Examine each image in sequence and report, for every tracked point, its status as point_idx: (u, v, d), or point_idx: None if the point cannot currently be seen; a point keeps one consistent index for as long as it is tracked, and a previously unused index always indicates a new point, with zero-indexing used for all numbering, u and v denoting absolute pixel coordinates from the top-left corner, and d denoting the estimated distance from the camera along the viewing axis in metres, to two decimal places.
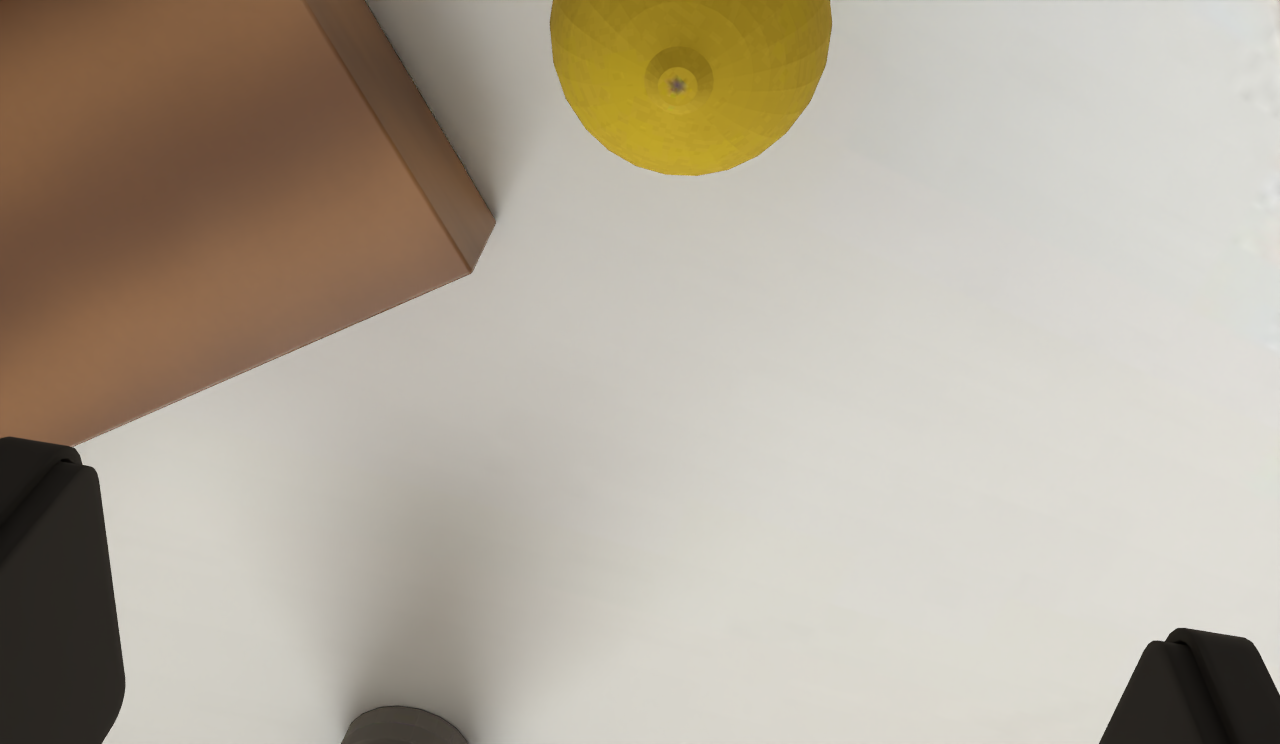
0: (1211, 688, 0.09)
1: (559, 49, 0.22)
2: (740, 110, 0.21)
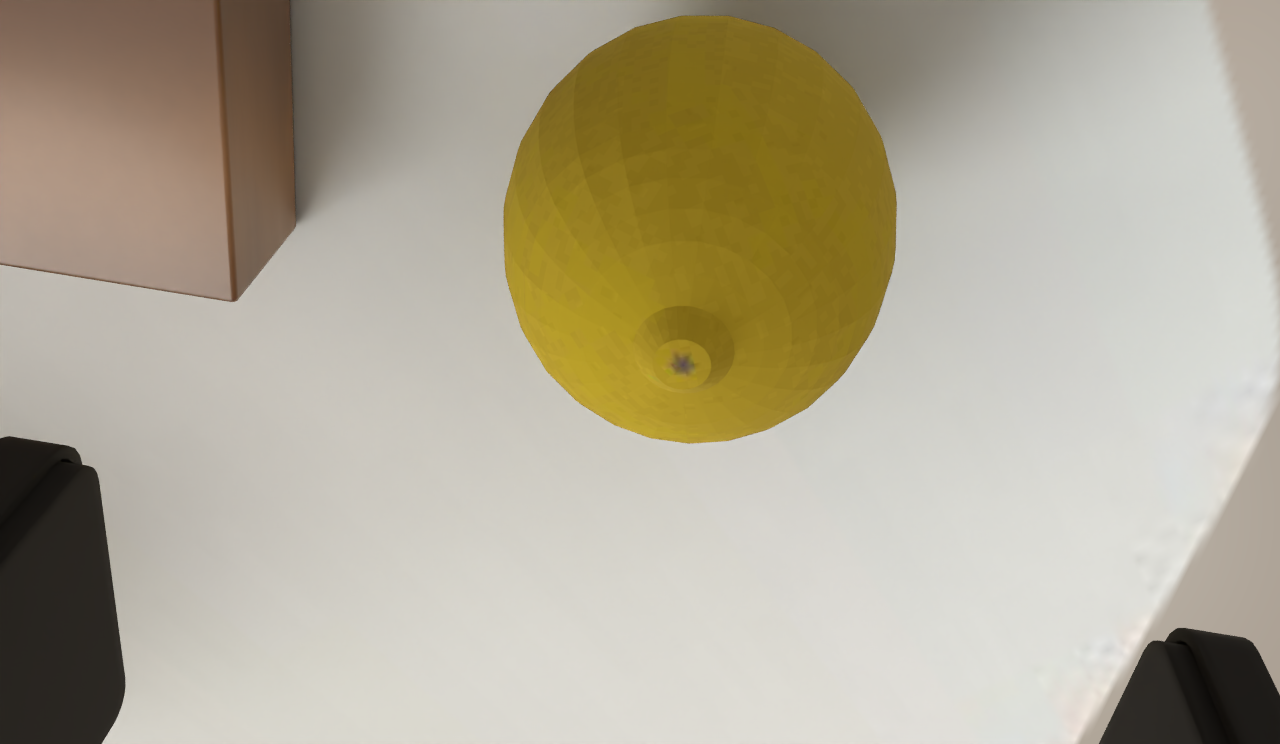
0: (1211, 688, 0.09)
1: (542, 189, 0.15)
2: (728, 415, 0.15)
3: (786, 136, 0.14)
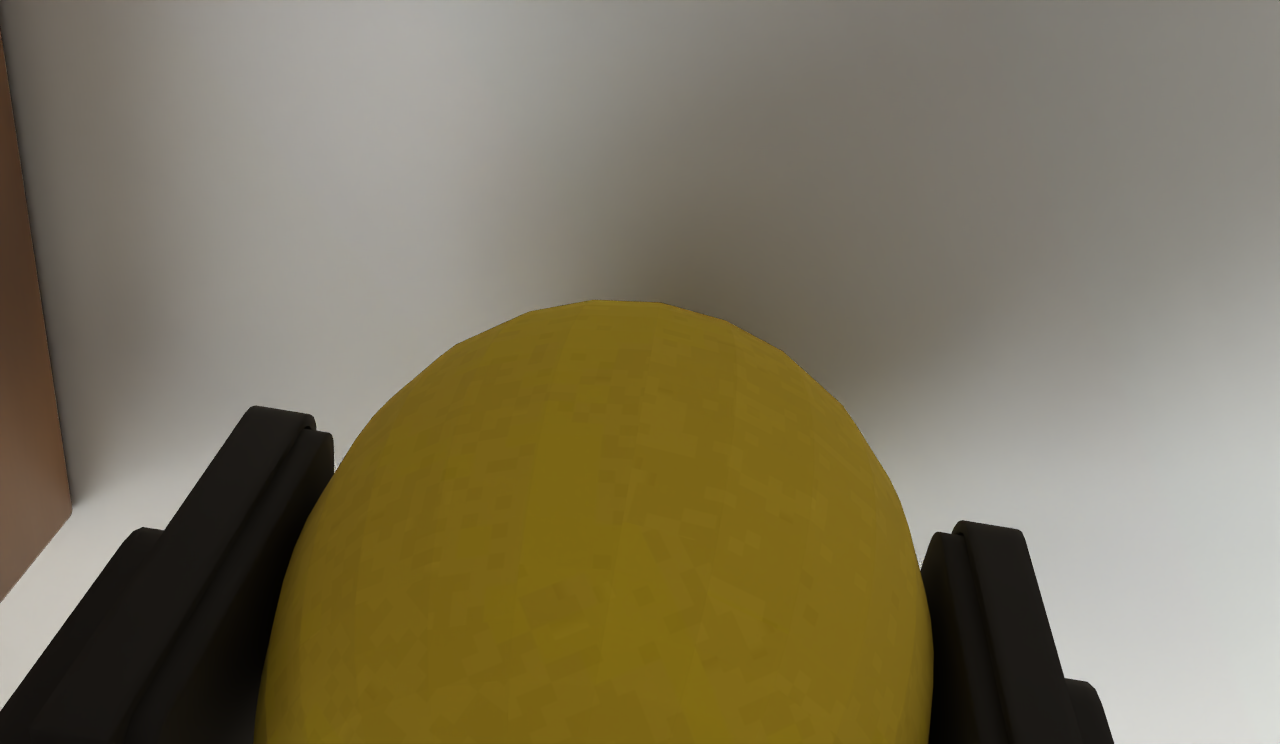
0: (974, 569, 0.10)
1: (295, 696, 0.08)
2: None
3: (741, 638, 0.08)
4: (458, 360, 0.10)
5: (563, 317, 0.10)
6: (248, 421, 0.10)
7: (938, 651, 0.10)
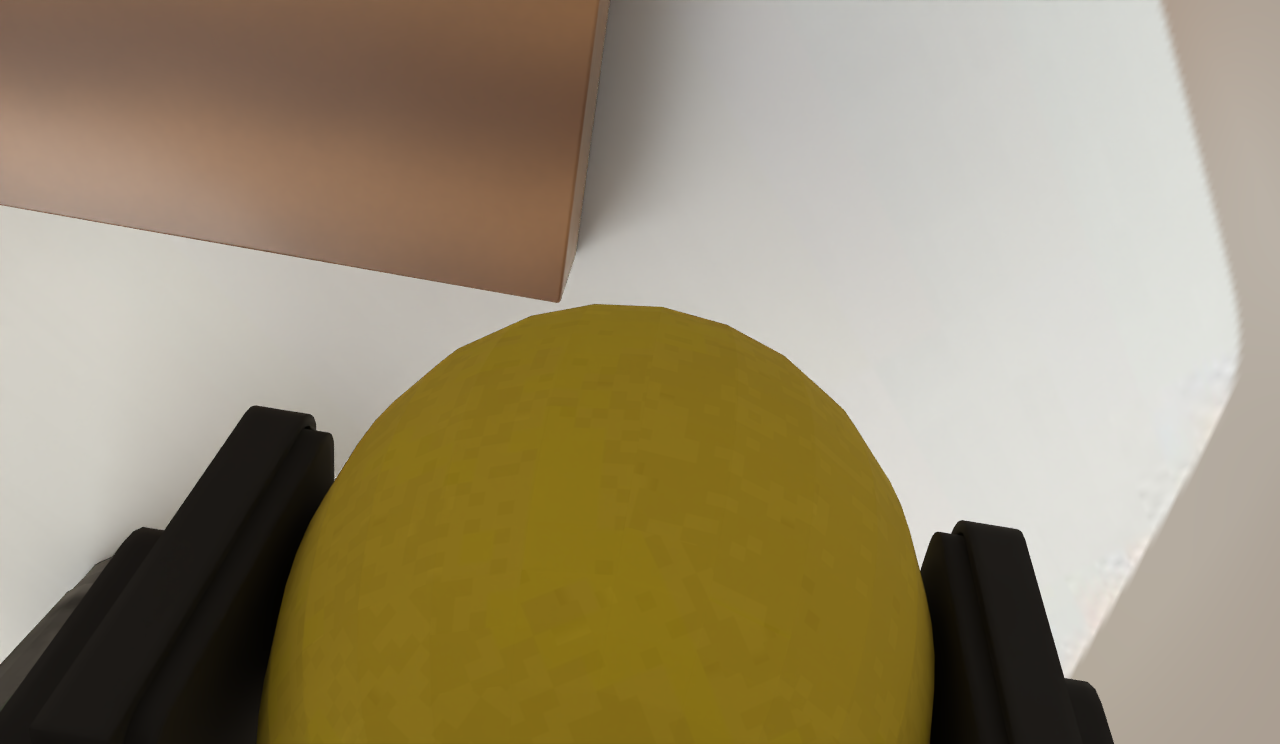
0: (973, 569, 0.10)
1: (297, 701, 0.08)
2: None
3: (743, 642, 0.08)
4: (460, 365, 0.10)
5: (564, 322, 0.10)
6: (248, 421, 0.10)
7: (938, 651, 0.10)
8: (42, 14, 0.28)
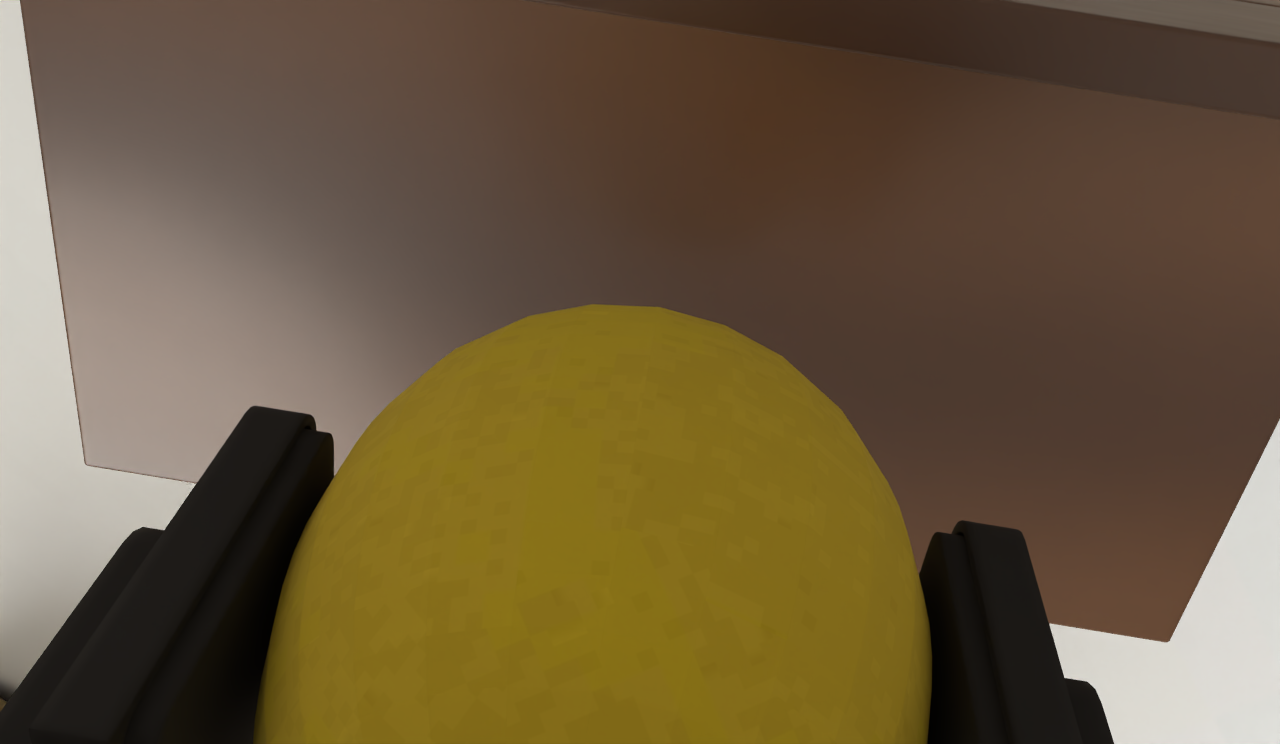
0: (974, 569, 0.10)
1: (294, 702, 0.08)
2: None
3: (740, 644, 0.08)
4: (457, 365, 0.10)
5: (562, 322, 0.10)
6: (249, 421, 0.10)
7: (938, 651, 0.10)
8: None
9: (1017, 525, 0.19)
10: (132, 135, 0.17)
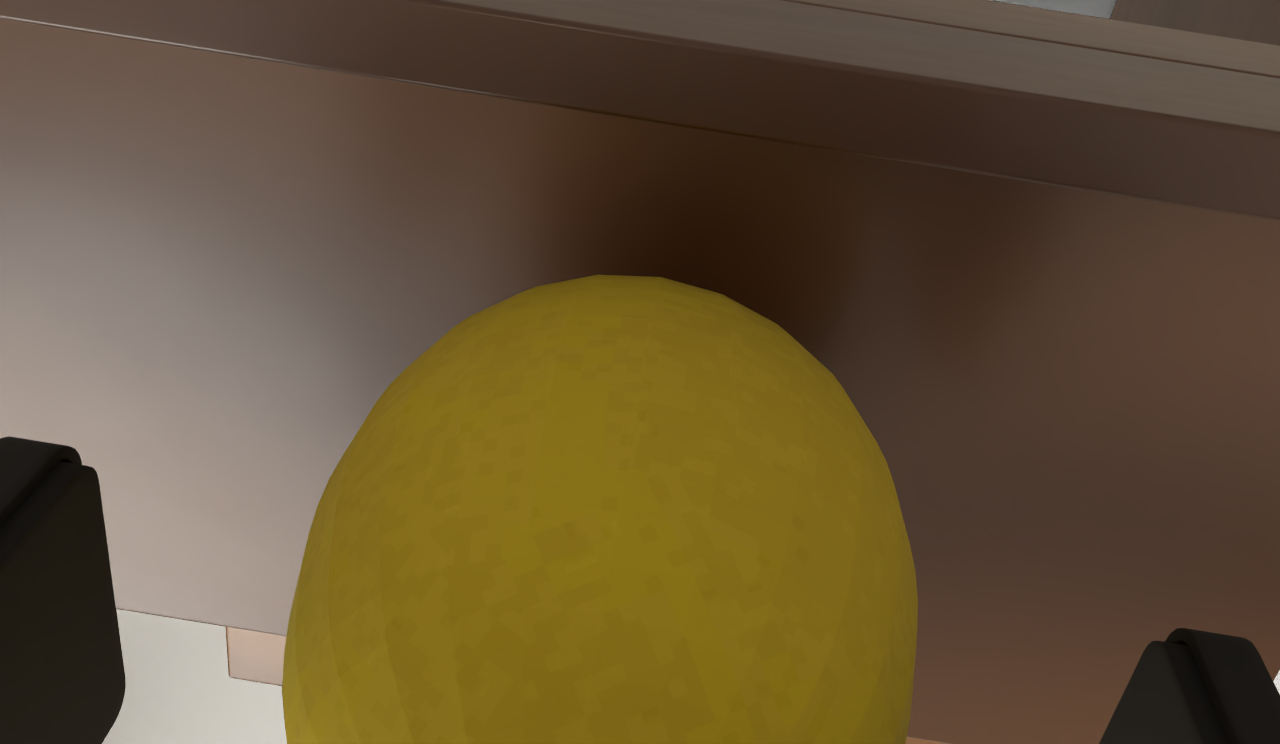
0: (1211, 688, 0.09)
1: (324, 632, 0.09)
2: None
3: (738, 572, 0.08)
4: (471, 328, 0.11)
5: (569, 288, 0.11)
6: None
7: None
8: None
9: (1043, 661, 0.16)
10: (19, 228, 0.14)
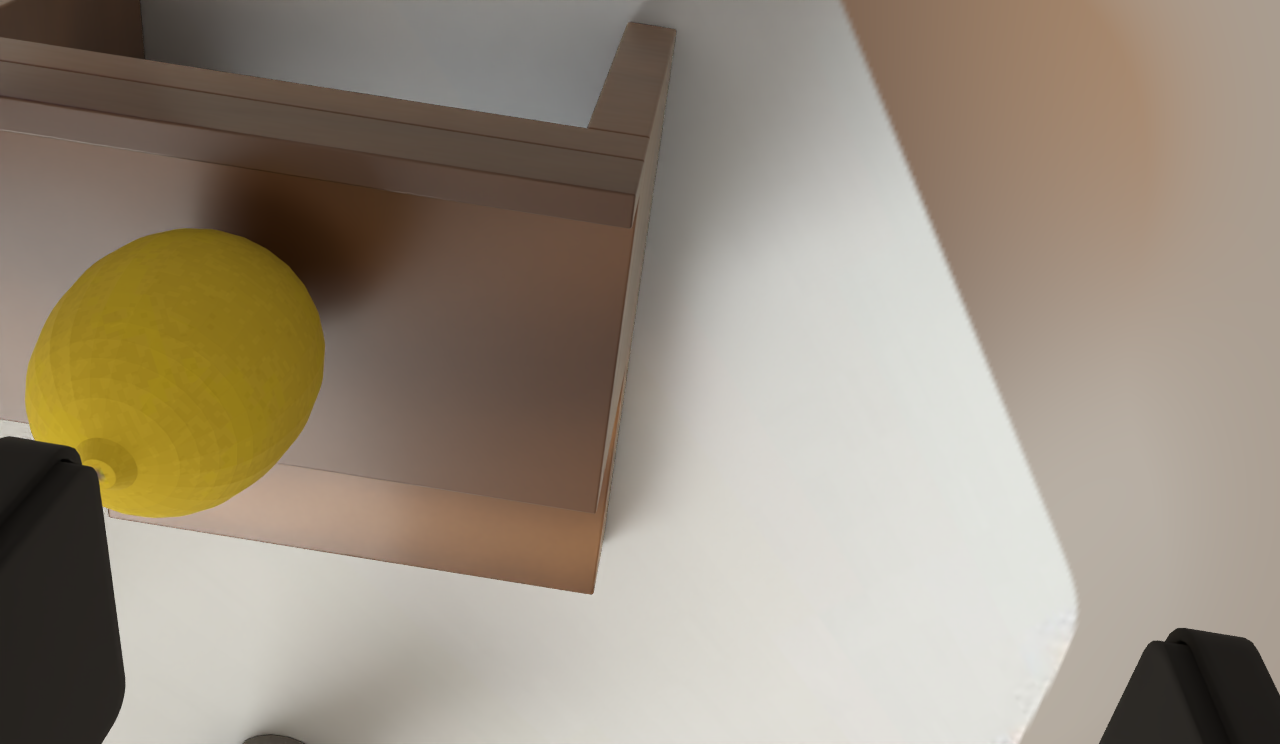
0: (1212, 688, 0.09)
1: (33, 357, 0.23)
2: (153, 503, 0.23)
3: (177, 329, 0.23)
4: (117, 249, 0.25)
5: (161, 233, 0.25)
6: None
7: None
8: None
9: (485, 439, 0.31)
10: None
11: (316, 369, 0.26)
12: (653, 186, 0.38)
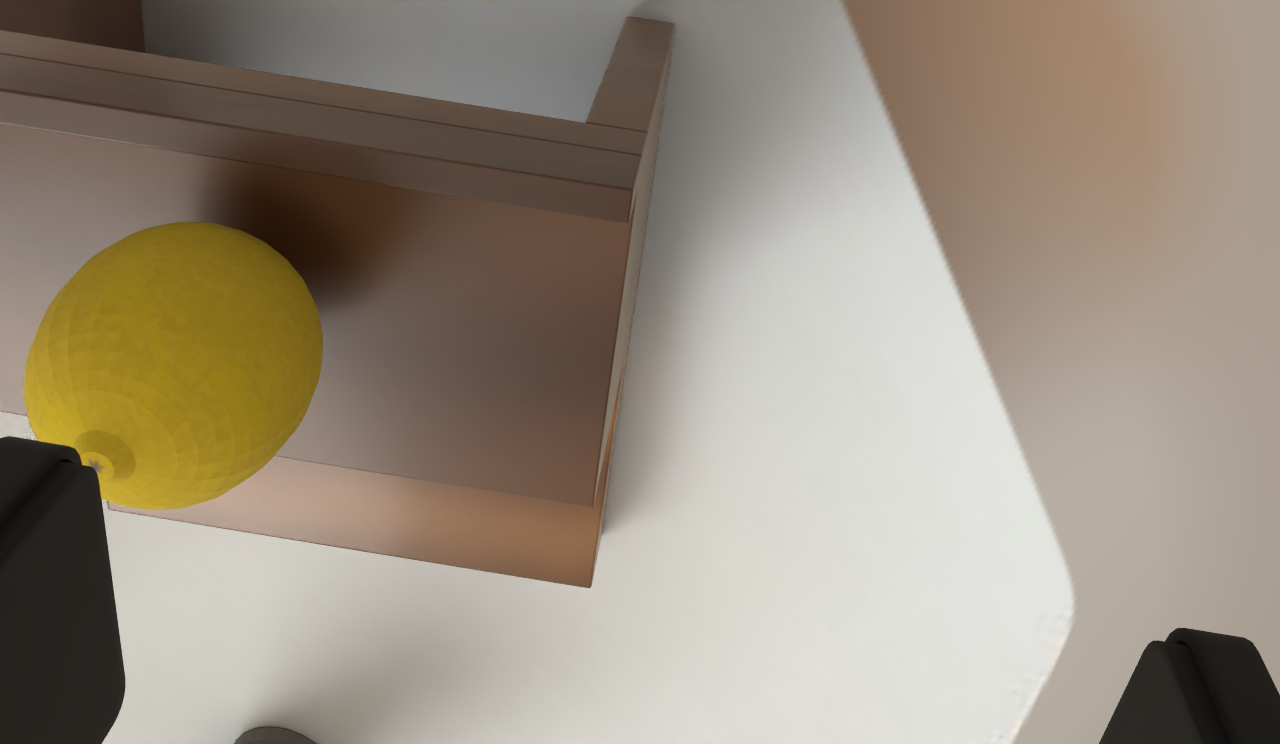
0: (1211, 688, 0.09)
1: (32, 349, 0.23)
2: (150, 495, 0.23)
3: (176, 323, 0.23)
4: None
5: (160, 226, 0.25)
6: None
7: None
8: None
9: (483, 433, 0.31)
10: None
11: (314, 362, 0.26)
12: None
